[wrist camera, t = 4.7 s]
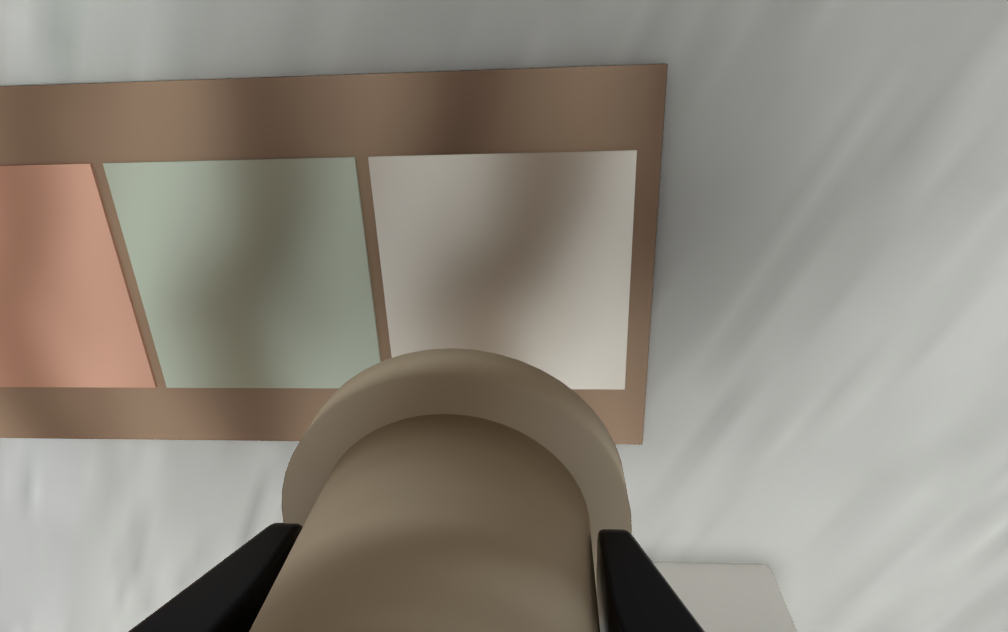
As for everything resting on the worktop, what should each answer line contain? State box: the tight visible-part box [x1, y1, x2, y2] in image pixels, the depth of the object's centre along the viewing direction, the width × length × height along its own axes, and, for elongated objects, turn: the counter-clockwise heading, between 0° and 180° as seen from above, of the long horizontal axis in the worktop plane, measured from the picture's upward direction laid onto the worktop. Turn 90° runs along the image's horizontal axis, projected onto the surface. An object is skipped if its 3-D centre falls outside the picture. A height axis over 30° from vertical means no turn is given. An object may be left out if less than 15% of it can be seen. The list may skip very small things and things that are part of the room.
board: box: [0, 64, 668, 444], centre depth 19 cm, size 25×12×1 cm, turn 92°
